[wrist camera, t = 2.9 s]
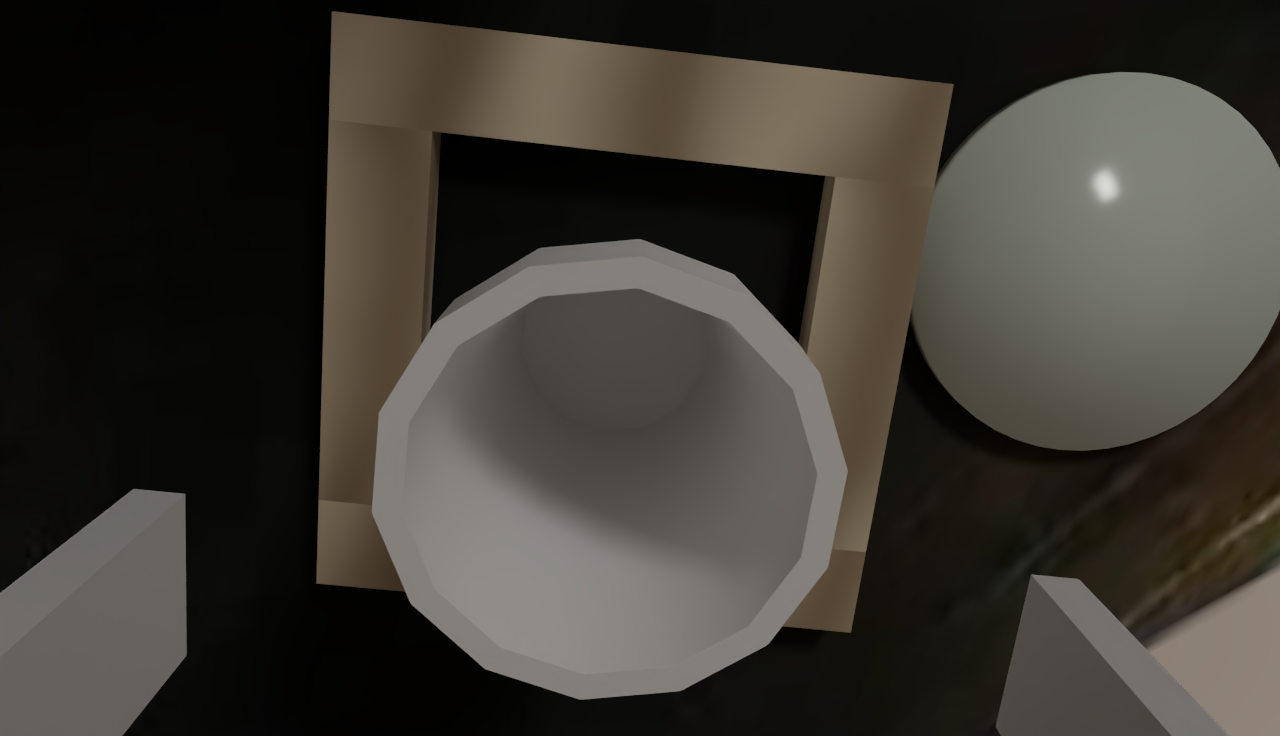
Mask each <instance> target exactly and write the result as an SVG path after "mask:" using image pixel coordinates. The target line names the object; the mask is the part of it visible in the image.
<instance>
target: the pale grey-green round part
mask: <svg viewBox="0 0 1280 736" xmlns="http://www.w3.org/2000/svg"><path fill="white" fill-rule="evenodd" d="M1279 310H1280V168H1279V166H1278V164H1277V162H1276V160H1275V158H1274V156H1273V154H1272V152H1271V151H1270V149H1269V147H1268V146H1267V145H1266V143H1265V142H1264V140H1263V139H1262V138H1261V136H1260V135H1259V133H1258V132H1257V131H1256V129H1255V128H1254V127H1253V126H1252V125H1251V124H1250V123H1249V122H1248V121H1247V120H1246V119H1245V118H1244V117H1243V116H1242V115H1241V114H1240V113H1239V112H1238V111H1236V110H1235V109H1234V108H1232V107H1231V106H1230V105H1228V104H1227V103H1226V102H1224V101H1223V100H1222V99H1220V98H1219V97H1217V96H1215V95H1213V94H1211V93H1209V92H1207V91H1205V90H1203V89H1202V88H1200V87H1198V86H1195V85H1192V84H1189V83H1186V82H1184V81H1181V80H1178V79H1175V78H1171V77H1165V76H1160V75H1155V74H1150V73H1131V72H1116V73H1103V74H1092V75H1083V76H1079V77H1074V78H1070V79H1065V80H1061V81H1058V82H1055V83H1052V84H1049V85H1047V86H1044V87H1041V88H1038V89H1036V90H1033V91H1031V92H1029V93H1027V94H1026V95H1024V96H1022V97H1020V98H1018V99H1016V100H1014V101H1012V102H1010V103H1009V104H1007V105H1006V106H1004V107H1003V108H1001V109H1000V110H998V111H997V112H995V113H994V114H993V115H991V116H990V117H988V118H987V119H986V120H985V121H984V122H982V123H981V124H980V125H979V126H978V127H977V128H976V129H974V130H973V131H972V132H971V133H970V134H969V135H968V136H967V137H966V138H965V139H964V140H963V141H962V142H961V144H960V145H959V146H958V147H957V148H956V149H955V150H954V151H953V152H952V154H951V155H950V156H949V158H948V159H947V160H946V162H945V163H944V165H943V166H942V168H941V169H940V170H939V172H938V173H937V175H936V181H935V186H934V191H933V197H932V202H931V207H930V213H929V218H928V223H927V229H926V234H925V239H924V245H923V250H922V255H921V261H920V266H919V271H918V277H917V282H916V287H915V293H914V298H913V303H912V309H911V314H910V319H909V320H910V324H911V327H912V330H913V334H914V337H915V340H916V343H917V345H918V347H919V349H920V351H921V354H922V356H923V358H924V360H925V362H926V363H927V365H928V367H929V368H930V370H931V371H932V373H933V374H934V376H935V377H936V379H937V380H938V381H939V383H940V384H941V385H942V386H943V387H944V388H945V390H946V391H947V392H948V393H949V394H950V395H951V396H952V397H953V398H954V399H955V400H956V401H957V402H958V403H959V404H961V405H962V406H963V407H964V408H965V409H966V410H968V411H969V412H970V413H971V414H972V415H973V416H974V417H976V418H977V419H979V420H980V421H982V422H983V423H985V424H986V425H988V426H989V427H991V428H993V429H994V430H996V431H998V432H1000V433H1003V434H1005V435H1007V436H1009V437H1011V438H1013V439H1016V440H1019V441H1022V442H1026V443H1029V444H1032V445H1035V446H1040V447H1046V448H1052V449H1058V450H1078V451H1085V450H1097V449H1108V448H1112V447H1117V446H1122V445H1127V444H1131V443H1134V442H1137V441H1140V440H1143V439H1146V438H1149V437H1152V436H1155V435H1157V434H1159V433H1161V432H1163V431H1166V430H1168V429H1170V428H1172V427H1174V426H1176V425H1178V424H1180V423H1181V422H1183V421H1184V420H1186V419H1188V418H1189V417H1191V416H1193V415H1194V414H1196V413H1198V412H1199V411H1200V410H1201V409H1203V408H1204V407H1205V406H1207V405H1208V404H1209V403H1211V402H1212V401H1213V400H1214V399H1216V398H1217V397H1218V396H1219V395H1220V394H1221V393H1222V392H1223V391H1224V390H1225V389H1226V388H1227V387H1228V386H1229V385H1231V384H1232V383H1233V382H1234V381H1235V380H1236V379H1237V377H1238V376H1239V375H1240V374H1241V373H1242V371H1243V370H1244V369H1245V368H1246V366H1247V365H1248V364H1249V363H1250V362H1251V360H1252V359H1253V358H1254V356H1255V354H1256V353H1257V351H1258V350H1259V348H1260V347H1261V345H1262V344H1263V342H1264V341H1265V339H1266V337H1267V335H1268V333H1269V331H1270V329H1271V327H1272V325H1273V323H1274V321H1275V319H1276V317H1277V315H1278V312H1279Z"/></svg>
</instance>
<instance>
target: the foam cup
mask: <svg viewBox="0 0 1280 736" xmlns="http://www.w3.org/2000/svg"><path fill="white" fill-rule="evenodd" d="M847 473H848V470H847V466H846V463H845V459H844V456H843V452H842V448H841V445H840V441H839V438H838V434H837V431H836V427H835V424H834V420H833V417H832V413H831V410H830V406H829V403H828V399H827V396H826V392H825V388H824V385H823V381H822V378H821V374H820V372H819V371H818V370H817V368H816V367H815V366H814V364H813V363H812V361H811V360H810V359H809V357H808V356H807V354H806V353H805V352H804V350H803V349H802V347H801V346H800V345H799V344H798V342H797V341H796V340H795V339H794V338H793V337H792V336H791V335H790V334H789V333H788V332H787V331H786V330H785V329H784V327H783V326H782V325H781V324H780V323H779V322H778V321H777V320H776V319H775V318H774V317H773V316H772V315H771V314H770V313H769V311H768V310H767V309H766V308H765V307H764V306H763V305H762V304H761V303H760V302H759V301H758V300H757V299H756V298H755V297H754V295H753V294H752V293H751V292H750V291H749V290H748V289H747V288H746V287H745V286H744V285H743V284H742V283H741V282H740V280H739V279H738V278H737V277H736V276H735V275H734V274H732V273H729V272H726V271H724V270H721V269H718V268H716V267H713V266H710V265H708V264H705V263H702V262H700V261H697V260H694V259H692V258H689V257H686V256H684V255H681V254H678V253H676V252H673V251H670V250H668V249H665V248H663V247H660V246H657V245H655V244H652V243H649V242H647V241H644V240H641V239H636V240H625V241H614V242H602V243H591V244H580V245H569V246H558V247H546V248H539V249H537V250H536V251H534V252H532V253H531V254H529V255H527V256H526V257H524V258H522V259H521V260H519V261H517V262H516V263H514V264H512V265H511V266H509V267H507V268H506V269H504V270H502V271H501V272H499V273H498V274H496V275H494V276H493V277H491V278H489V279H488V280H486V281H484V282H483V283H481V284H479V285H478V286H476V287H474V288H473V289H471V290H469V291H468V292H466V293H464V294H463V295H461V296H459V297H458V298H456V299H455V300H454V301H453V302H452V303H451V304H450V306H449V307H448V308H447V309H446V310H445V312H444V313H443V314H442V315H441V316H440V317H439V319H438V320H437V321H436V322H435V323H434V325H433V327H432V328H431V330H430V331H429V333H428V335H427V336H426V338H425V339H424V341H423V343H422V344H421V346H420V347H419V349H418V351H417V352H416V354H415V355H414V357H413V359H412V360H411V362H410V363H409V365H408V367H407V368H406V370H405V371H404V373H403V375H402V376H401V378H400V379H399V381H398V383H397V384H396V386H395V387H394V389H393V391H392V392H391V394H390V395H389V397H388V399H387V400H386V402H385V403H384V405H383V407H382V408H381V410H380V411H379V418H378V432H377V446H376V460H375V474H374V487H373V501H372V515H373V517H374V519H375V522H376V524H377V526H378V529H379V531H380V533H381V536H382V538H383V540H384V543H385V545H386V547H387V550H388V552H389V554H390V557H391V559H392V561H393V564H394V566H395V568H396V571H397V573H398V575H399V578H400V580H401V582H402V585H403V587H404V589H405V592H406V594H407V596H408V599H409V601H410V603H411V604H412V605H413V606H414V607H415V608H416V609H417V610H418V611H420V612H421V613H422V614H423V615H424V616H425V617H426V618H428V619H429V620H430V621H431V622H432V623H433V624H434V625H435V626H437V627H438V628H439V629H440V630H441V631H442V632H443V633H445V634H446V635H447V636H448V637H449V638H450V639H451V640H453V641H454V642H455V643H456V644H457V645H458V646H459V647H460V648H462V649H463V650H464V651H465V652H466V653H467V654H468V655H470V656H471V657H472V658H473V659H474V660H475V661H476V662H478V663H479V664H480V665H481V666H482V667H483V668H484V669H486V670H489V671H492V672H496V673H499V674H502V675H505V676H508V677H511V678H514V679H517V680H521V681H524V682H527V683H530V684H533V685H536V686H539V687H543V688H546V689H549V690H552V691H555V692H558V693H561V694H564V695H568V696H571V697H574V698H577V699H580V700H582V699H593V698H605V697H617V696H628V695H640V694H652V693H663V692H675V691H681V690H683V689H685V688H687V687H689V686H691V685H693V684H694V683H696V682H698V681H700V680H702V679H704V678H706V677H708V676H710V675H711V674H713V673H715V672H717V671H719V670H721V669H723V668H725V667H727V666H729V665H730V664H732V663H734V662H736V661H738V660H740V659H742V658H744V657H746V656H748V655H749V654H751V653H753V652H755V651H757V650H759V649H761V648H763V647H765V646H766V645H768V644H769V643H770V641H771V640H772V639H773V637H774V636H775V635H776V634H777V632H778V631H779V630H780V628H781V627H782V626H783V625H784V623H785V622H786V621H787V620H788V618H789V617H790V616H791V614H792V613H793V612H794V611H795V609H796V608H797V607H798V605H799V604H800V603H801V602H802V600H803V599H804V598H805V596H806V595H807V594H808V593H809V591H810V590H811V589H812V587H813V586H814V585H815V584H816V582H817V581H818V580H819V578H820V577H821V576H822V575H823V573H824V572H825V571H826V569H827V568H828V565H829V560H830V555H831V551H832V546H833V541H834V536H835V531H836V526H837V522H838V517H839V512H840V507H841V502H842V497H843V493H844V488H845V483H846V478H847Z"/></svg>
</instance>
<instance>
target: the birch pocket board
mask: <svg viewBox="0 0 1280 736" xmlns="http://www.w3.org/2000/svg"><path fill="white" fill-rule="evenodd" d="M953 85H954V84H945V83H937V82H928V81H920V80H911V79H903V78H894V77H886V76H877V75H869V74H860V73H852V72H843V71H835V70H826V69H818V68H810V67H801V66H793V65H784V64H776V63H767V62H759V61H750V60H742V59H733V58H725V57H716V56H708V55H699V54H691V53H682V52H674V51H665V50H657V49H648V48H640V47H631V46H623V45H614V44H606V43H597V42H589V41H580V40H572V39H563V38H555V37H546V36H538V35H529V34H521V33H512V32H504V31H495V30H487V29H479V28H470V27H462V26H453V25H445V24H436V23H428V22H419V21H411V20H402V19H394V18H385V17H377V16H368V15H360V14H351V13H343V12H334V11H332V26H331V63H330V100H329V137H328V174H327V211H326V248H325V285H324V322H323V359H322V396H321V433H320V470H319V508H318V545H317V582H316V583H317V584H328V585H339V586H350V587H361V588H371V589H382V590H393V591H404V592H405V589H404V587H403V585H402V582H401V580H400V578H399V575H398V573H397V571H396V568H395V566H394V564H393V561H392V559H391V557H390V554H389V552H388V550H387V547H386V545H385V543H384V540H383V538H382V536H381V533H380V531H379V529H378V526H377V524H376V522H375V519H374V517H373V515H372V501H373V487H374V474H375V460H376V446H377V432H378V418H379V411H380V410H381V408H382V407H383V405H384V403H385V402H386V400H387V399H388V397H389V395H390V394H391V392H392V391H393V389H394V387H395V386H396V384H397V383H398V381H399V379H400V378H401V376H402V375H403V373H404V371H405V370H406V368H407V367H408V365H409V363H410V362H411V360H412V359H413V357H414V355H415V354H416V352H417V351H418V349H419V347H420V346H421V344H422V343H423V341H424V339H425V338H426V336H427V335H428V333H429V331H430V323H431V305H432V287H433V270H434V252H435V234H436V216H437V199H438V181H439V163H440V145H441V132H443V133H451V134H460V135H469V136H478V137H487V138H496V139H504V140H513V141H522V142H531V143H540V144H549V145H558V146H566V147H575V148H584V149H593V150H602V151H611V152H620V153H628V154H637V155H646V156H655V157H664V158H673V159H682V160H690V161H699V162H708V163H717V164H726V165H735V166H744V167H752V168H761V169H770V170H779V171H788V172H797V173H806V174H814V175H823V176H825V180H824V186H823V193H822V199H821V205H820V212H819V218H818V224H817V231H816V237H815V243H814V250H813V256H812V262H811V268H810V275H809V281H808V287H807V294H806V300H805V306H804V313H803V319H802V325H801V332H800V338H799V345H800V346H801V347H802V349H803V350H804V352H805V353H806V354H807V356H808V357H809V359H810V360H811V361H812V363H813V364H814V366H815V367H816V368H817V370H818V371H819V372H820V374H821V378H822V381H823V385H824V388H825V392H826V396H827V399H828V403H829V406H830V410H831V413H832V417H833V420H834V424H835V427H836V431H837V434H838V438H839V441H840V445H841V448H842V452H843V456H844V459H845V463H846V466H847V470H848V473H847V478H846V483H845V488H844V493H843V497H842V502H841V507H840V512H839V517H838V522H837V526H836V531H835V536H834V541H833V546H832V551H831V555H830V560H829V565H828V568H827V569H826V571H825V572H824V573H823V575H822V576H821V577H820V578H819V580H818V581H817V582H816V584H815V585H814V586H813V587H812V589H811V590H810V591H809V593H808V594H807V595H806V596H805V598H804V599H803V600H802V602H801V603H800V604H799V605H798V607H797V608H796V609H795V611H794V612H793V613H792V614H791V616H790V617H789V618H788V620H787V621H786V622H785V623H784V625H783V626H785V627H796V628H807V629H818V630H828V631H839V632H850V633H851V628H852V623H853V617H854V612H855V607H856V602H857V596H858V591H859V586H860V580H861V575H862V570H863V564H864V559H865V554H866V548H867V543H868V538H869V532H870V527H871V522H872V516H873V511H874V506H875V500H876V495H877V490H878V484H879V479H880V474H881V468H882V463H883V458H884V452H885V447H886V442H887V436H888V431H889V426H890V420H891V415H892V410H893V404H894V399H895V394H896V388H897V383H898V378H899V372H900V367H901V362H902V356H903V351H904V346H905V341H906V335H907V330H908V325H909V319H910V314H911V309H912V303H913V298H914V293H915V287H916V282H917V277H918V271H919V266H920V261H921V255H922V250H923V245H924V239H925V234H926V229H927V223H928V218H929V213H930V207H931V202H932V197H933V191H934V186H935V181H936V175H937V170H938V165H939V159H940V154H941V149H942V143H943V138H944V133H945V127H946V122H947V117H948V111H949V106H950V101H951V95H952V90H953Z"/></svg>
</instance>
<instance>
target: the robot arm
mask: <svg viewBox="0 0 1280 736" xmlns="http://www.w3.org/2000/svg"><path fill="white" fill-rule="evenodd" d="M186 655H187V649H186V538H185V494H181V493H170V492H160V491H149V490H139V489H133V490H132V491H131V492H129V493H128V494H127V495H125V496H124V497H123V498H122V499H120V500H119V501H118V502H116V503H115V504H114V505H113V506H111V507H110V508H109V509H107V510H106V511H105V512H104V513H102V514H101V515H100V516H98V517H97V518H96V519H95V520H93V521H92V522H91V523H89V524H88V525H87V526H86V527H84V528H83V529H82V530H80V531H79V532H78V533H77V534H75V535H74V536H73V537H71V538H70V539H69V540H68V541H66V542H65V543H64V544H62V545H61V546H60V547H59V548H57V549H56V550H55V551H53V552H52V553H51V554H50V555H48V556H47V557H46V558H44V559H43V560H42V561H41V562H39V563H38V564H37V565H36V566H34V567H33V568H32V569H30V570H29V571H28V572H27V573H25V574H24V575H23V576H21V577H20V578H19V579H18V580H16V581H15V582H14V583H12V584H11V585H10V586H9V587H7V588H6V589H5V590H3V591H2V592H1V593H0V736H122V735H123V734H124V733H125V732H126V730H127V729H128V728H129V727H130V725H131V724H132V723H133V722H134V720H135V719H136V718H137V717H138V715H139V714H140V713H141V712H142V710H143V709H144V708H145V707H146V705H147V704H148V703H149V702H150V700H151V699H152V698H153V697H154V695H155V694H156V693H157V692H158V690H159V689H160V688H161V687H162V685H163V684H164V683H165V682H166V680H167V679H168V678H169V677H170V675H171V674H172V673H173V672H174V670H175V669H176V668H177V667H178V665H179V664H180V663H181V662H182V660H183V659H184V658H185V657H186ZM996 728H997V730H998V731H999V733H1000V735H1001V736H1229V735H1228V734H1227V733H1226V732H1225V731H1224V730H1223V729H1222V728H1221V727H1220V725H1219V724H1218V723H1217V722H1216V721H1215V720H1214V719H1213V718H1212V717H1211V716H1210V715H1209V714H1208V713H1207V712H1206V711H1205V710H1204V709H1203V708H1202V707H1201V706H1200V705H1199V704H1198V703H1197V702H1196V701H1195V699H1193V697H1192V696H1191V695H1189V693H1188V692H1187V691H1186V690H1185V689H1184V688H1183V687H1182V686H1181V685H1180V684H1179V683H1178V682H1177V681H1176V680H1175V679H1174V678H1173V677H1172V676H1171V675H1170V674H1169V673H1168V671H1166V669H1164V667H1163V666H1162V665H1161V664H1160V663H1159V662H1158V661H1157V660H1156V659H1155V658H1154V657H1153V656H1152V655H1151V654H1150V653H1149V652H1148V651H1147V650H1146V649H1145V648H1144V647H1143V645H1142V644H1141V643H1140V642H1139V641H1138V640H1137V639H1136V638H1135V637H1134V636H1133V635H1132V634H1131V633H1130V632H1129V631H1128V630H1127V629H1126V628H1125V627H1124V626H1123V625H1122V624H1121V623H1120V622H1119V621H1118V620H1117V618H1116V617H1115V616H1114V615H1113V614H1112V613H1111V612H1110V611H1109V610H1108V609H1107V608H1106V607H1105V606H1104V605H1103V604H1102V603H1101V602H1100V601H1099V600H1098V599H1097V598H1096V597H1095V596H1094V595H1093V594H1092V592H1091V591H1090V590H1089V589H1088V588H1087V587H1086V586H1085V585H1084V584H1083V583H1082V582H1081V581H1080V580H1079V579H1072V578H1061V577H1051V576H1040V575H1031V578H1030V582H1029V586H1028V590H1027V595H1026V599H1025V603H1024V608H1023V612H1022V616H1021V620H1020V625H1019V629H1018V633H1017V638H1016V642H1015V646H1014V650H1013V655H1012V659H1011V663H1010V668H1009V672H1008V676H1007V680H1006V685H1005V689H1004V693H1003V698H1002V702H1001V706H1000V710H999V715H998V719H997V723H996Z"/></svg>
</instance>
